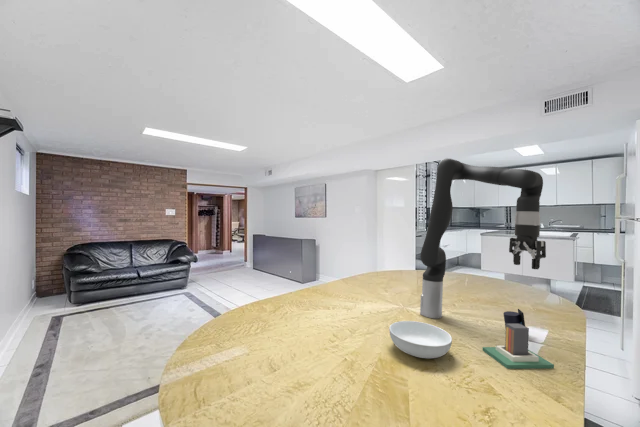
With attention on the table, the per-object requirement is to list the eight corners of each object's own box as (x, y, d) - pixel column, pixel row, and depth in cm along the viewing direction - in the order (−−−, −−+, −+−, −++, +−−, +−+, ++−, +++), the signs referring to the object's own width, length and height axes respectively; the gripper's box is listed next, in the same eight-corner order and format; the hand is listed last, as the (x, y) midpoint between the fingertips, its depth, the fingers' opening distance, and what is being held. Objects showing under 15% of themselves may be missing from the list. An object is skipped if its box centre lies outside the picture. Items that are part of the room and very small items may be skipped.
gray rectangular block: (513, 358, 93) (514, 328, 93) (504, 352, 97) (505, 323, 97) (527, 357, 94) (528, 328, 94) (518, 352, 98) (519, 323, 98)
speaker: (527, 334, 116) (525, 309, 117) (527, 339, 112) (524, 313, 112) (506, 330, 121) (503, 306, 122) (504, 335, 117) (502, 310, 117)
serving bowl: (425, 374, 85) (425, 351, 85) (376, 345, 102) (377, 326, 102) (464, 357, 96) (465, 337, 96) (414, 334, 113) (415, 317, 113)
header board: (507, 368, 89) (507, 360, 89) (482, 350, 101) (482, 342, 101) (553, 368, 90) (554, 360, 90) (524, 350, 102) (524, 342, 102)
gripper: (503, 222, 112) (502, 263, 112) (533, 224, 98) (532, 270, 98) (521, 223, 112) (520, 263, 112) (553, 224, 98) (552, 271, 98)
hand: (525, 266), depth 105 cm, fingers open, 8 cm apart
